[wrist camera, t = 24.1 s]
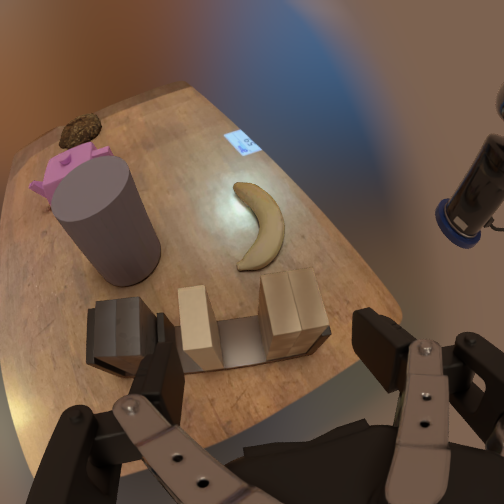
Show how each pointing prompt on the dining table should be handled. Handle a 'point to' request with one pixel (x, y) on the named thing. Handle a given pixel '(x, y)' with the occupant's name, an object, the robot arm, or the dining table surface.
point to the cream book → (199, 328)
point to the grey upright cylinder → (107, 220)
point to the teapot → (66, 167)
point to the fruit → (261, 226)
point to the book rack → (230, 331)
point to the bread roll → (80, 130)
